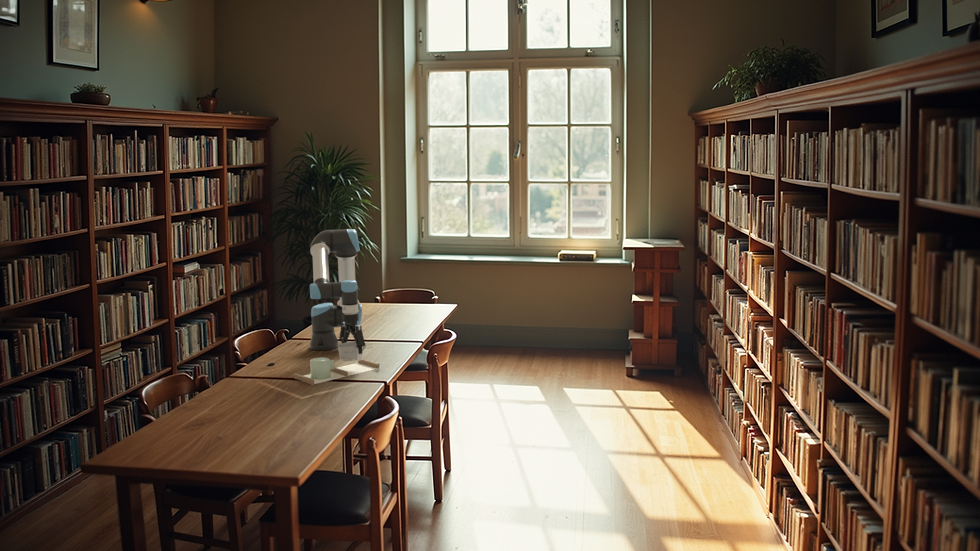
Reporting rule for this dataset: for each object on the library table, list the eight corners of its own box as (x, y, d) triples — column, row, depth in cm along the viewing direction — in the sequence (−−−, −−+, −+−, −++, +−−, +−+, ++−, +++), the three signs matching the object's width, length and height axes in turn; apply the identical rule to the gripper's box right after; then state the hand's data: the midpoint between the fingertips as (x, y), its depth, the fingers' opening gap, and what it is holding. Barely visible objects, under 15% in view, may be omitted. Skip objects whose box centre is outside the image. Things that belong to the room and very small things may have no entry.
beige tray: (293, 380, 387) (293, 373, 386) (360, 364, 412) (359, 358, 411) (312, 386, 375) (312, 380, 375) (379, 370, 400) (379, 363, 400)
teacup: (342, 364, 390) (341, 347, 389) (335, 359, 400) (334, 342, 399) (371, 359, 397) (370, 343, 396) (363, 355, 406) (362, 339, 405)
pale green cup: (307, 377, 387) (306, 360, 386) (328, 372, 395) (327, 355, 394) (317, 380, 381) (316, 363, 380) (339, 375, 389) (338, 358, 388)
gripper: (330, 311, 401) (332, 355, 404) (358, 317, 384) (360, 364, 388) (343, 308, 406) (345, 352, 409) (371, 314, 389) (373, 360, 393)
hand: (352, 358), depth 399 cm, fingers closed on teacup, 11 cm apart
